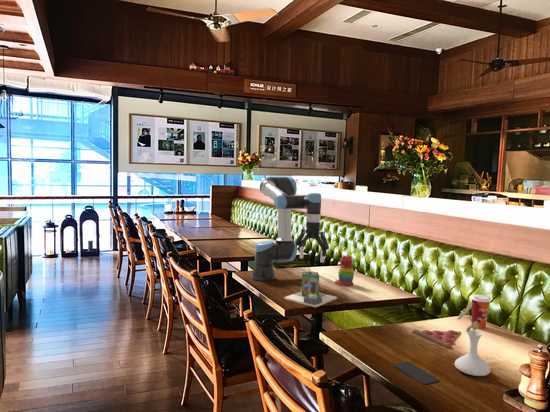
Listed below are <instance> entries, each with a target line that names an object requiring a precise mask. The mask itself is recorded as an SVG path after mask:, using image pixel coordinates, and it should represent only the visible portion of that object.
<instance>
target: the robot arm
mask: <svg viewBox="0 0 550 412" xmlns="http://www.w3.org/2000/svg"><path fill="white" fill-rule="evenodd" d="M259 184H260V185H259V190H260V192H261V193H262V195H263V196H266V197H269V199H271V200H272V201H273V205H274V207H275V209H277V238H276V239H275V243H274V241H273V240H264V241H259V242H257V243H256V244H255V249H254V267H253V268H252V269H253V271H252V273H251V279H252V280H255V281H261V282H269V281H274V280H276V273H275V268H274V262H292V261H294V260H295V259H296V257H297V252H298V253H299V259H300V260H301V259H304V251H305V243H306V242H307V241H308V240H309V239H312V240H316V243H317V244H318V246H319V248H320V249H321V250H320V260H319V261H320V262H319V263H325V257H326V256H327V251H328V250H330V246H329V243H328V240H327V238H326V232H325V231H320V229H321V222H320V221H321V211H322V210H321V209H322V194H321V193H319V192H308V193H307V194H302V195H298V194H297V190H298V188H297V182H296V181H295V179H294V178H292V177H288V176H287V177H285V176H284V177H283V176H269V177H265V178H264V179H263V180H262V181H261V182H260V183H259ZM296 194H297V195H296ZM292 210H306V222H305V223H306V224H305V228H306V229H305V228H301V229H300V230H301V231H300V234H299V236H298V238H297V240H296V242H294V239H293V238H292ZM305 234H306V235H305ZM297 246H298V247H297Z"/></svg>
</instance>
